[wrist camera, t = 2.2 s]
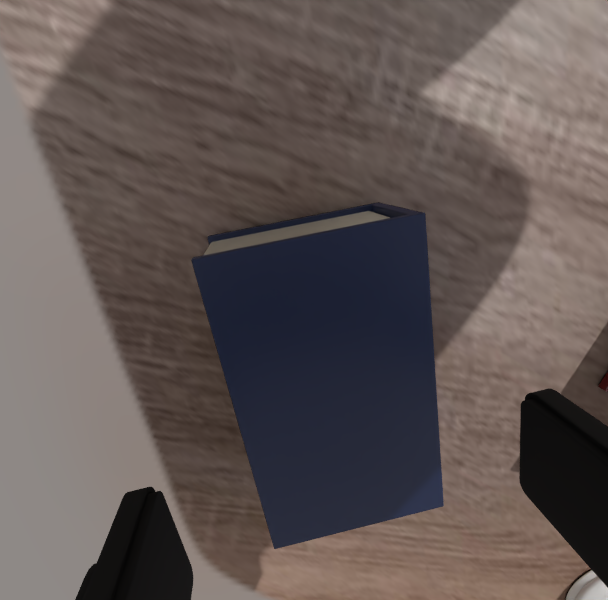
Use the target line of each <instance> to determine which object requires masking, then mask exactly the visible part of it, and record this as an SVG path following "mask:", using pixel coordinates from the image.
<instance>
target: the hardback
mask: <svg viewBox="0 0 608 600" xmlns="http://www.w3.org/2000/svg"><path fill="white" fill-rule="evenodd" d="M598 387H600V388H601V389H603V390H604V391H607V392H608V372H607V374H606V375H605V377H604V378H603V380H602V381H601V383H600V384H599V385H598Z"/></svg>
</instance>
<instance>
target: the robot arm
mask: <svg viewBox="0 0 608 600" xmlns="http://www.w3.org/2000/svg"><path fill="white" fill-rule="evenodd" d="M520 484H521V487H522V489H523V491H524V493H525V494H526V495H527V497H528V498H529V499H530V500H531V501H532V502H533V503H534V504H535V506H536V507H537V508H538V509H539V510H540V511H541V512H542V514H543V515H544V516H545V517H546V518H547V519H548V520H549V522H550V523H551V524H552V525H553V526H554V527H555V528H556V530H557V531H558V532H559V533H560V534H561V535H562V536H563V538H564V539H565V540H566V541H567V542H568V543H569V544H570V545H571V547H572V548H573V549H574V550H575V551H576V552H577V553H578V555H579V556H580V557H581V558H582V559H583V560H584V561H585V563H586V564H587V565H588V566H589V567H590V568H591V569H592V571H593V572H594V573H595V574H596V575H597V576H598V577H599V578H600V580H601V581H602V582H603V583H604V584H605V585H606V586H607V588H608V426H606V425H605V424H603V423H602V422H600V421H599V420H597V419H596V418H595V417H593V416H592V415H590V414H589V413H587V412H586V411H584V410H583V409H581V408H580V407H579V406H577V405H576V404H574V403H573V402H571V401H570V400H568V399H567V398H565V397H564V396H563V395H561V394H560V393H558V392H557V391H555V390H553V389H545V390H541V391H537V392H533V393H529V394H527V395H526V397H525V401H522V403H521V427H520ZM192 586H193V572H192V567H191V564H190V562H189V559H188V556H187V554H186V551H185V549H184V546H183V544H182V541H181V539H180V536H179V534H178V531H177V528H176V526H175V523H174V521H173V518H172V516H171V513H170V511H169V508H168V506H167V503H166V500H165V498H164V496H163V493H162V492H161V491H157V492H155V490H154V489H153V488H152V487H147V488H143V489H139V490H135V491H131V492H127V493H126V494H125V495H124V497H123V499H122V501H121V504H120V507H119V509H118V511H117V514H116V516H115V519H114V521H113V524H112V526H111V529H110V532H109V534H108V536H107V539H106V541H105V544H104V547H103V549H102V551H101V555H100V556H99V559H98V561H97V563H96V564H94V565H93V566H92V567H91V568H90V569H89V570H88V572H87V574H86V576H85V578H84V580H83V583H82V585H81V587H80V590H79V592H78V595H77V597H76V599H75V600H191V594H192Z"/></svg>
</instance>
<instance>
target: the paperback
mask: <svg viewBox="0 0 608 600" xmlns="http://www.w3.org/2000/svg"><path fill="white" fill-rule="evenodd" d="M208 242H209V247H208V248H207V250H206V252H205V253H204V255H203V256H198V257H193V258H192V260H191V261H192V264H193V268H194V271H195V275H196V278H197V282H198V285H199V289H200V292H201V296H202V299H203V303H204V306H205V310H206V313H207V317H208V320H209V324H210V327H211V331H212V334H213V337H214V341H215V344H216V348H217V351H218V355H219V358H220V362H221V365H222V369H223V372H224V376H225V379H226V383H227V386H228V390H229V393H230V397H231V400H232V404H233V407H234V410H235V414H236V417H237V421H238V424H239V428H240V431H241V435H242V438H243V442H244V445H245V449H246V452H247V456H248V459H249V463H250V466H251V470H252V473H253V477H254V480H255V483H256V487H257V490H258V494H259V497H260V501H261V504H262V508H263V511H264V515H265V518H266V522H267V525H268V529H269V532H270V536H271V539H272V543H273V546H274V549H277V548H281V547H285V546H289V545H293V544H297V543H300V542H304V541H308V540H312V539H316V538H320V537H324V536H328V535H332V534H336V533H340V532H344V531H348V530H352V529H356V528H360V527H363V526H367V525H371V524H375V523H379V522H383V521H387V520H391V519H395V518H399V517H403V516H407V515H411V514H415V513H419V512H423V511H426V510H430V509H434V508H438V507H442V506H444V504H443V488H442V472H441V457H440V441H439V425H438V409H437V393H436V377H435V361H434V345H433V329H432V313H431V297H430V281H429V265H428V249H427V233H426V217H425V213H423V212H418V211H414V210H409V209H405V208H401V207H396V206H392V205H388V204H383V203H379V202H378V203H373V204H368V205H363V206H358V207H353V208H347V209H342V210H337V211H332V212H327V213H322V214H317V215H312V216H307V217H302V218H297V219H292V220H287V221H281V222H276V223H271V224H266V225H261V226H256V227H251V228H246V229H241V230H236V231H231V232H226V233H221V234H215V235H210V236H208Z"/></svg>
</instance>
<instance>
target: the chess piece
mask: <svg viewBox="0 0 608 600" xmlns="http://www.w3.org/2000/svg"><path fill="white" fill-rule="evenodd" d="M566 600H608V588H607V586H606V585H605V584H604V583H603V582H602V581H601V580H600V578H599V577H598V576H597V575H596V574H595V573H594V572H593V571H592V570H591V571H589V572H587V573H586V574H584V575H583V576H582V577H580V578H579V579H578V580H577V581H576V582H575V583H574V584H573V586H572V587H571V588H570V590H569V592H568V594H567V597H566Z"/></svg>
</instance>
